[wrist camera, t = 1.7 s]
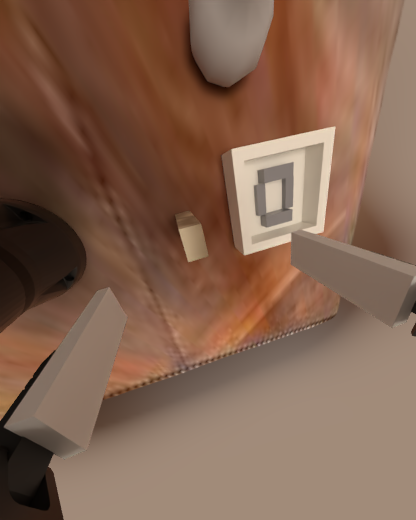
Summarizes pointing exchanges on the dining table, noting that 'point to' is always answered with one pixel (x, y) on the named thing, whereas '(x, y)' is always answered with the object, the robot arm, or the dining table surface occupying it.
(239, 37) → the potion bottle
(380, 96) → the dining table surface
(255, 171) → the white square tray
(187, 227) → the tapered beige beam
